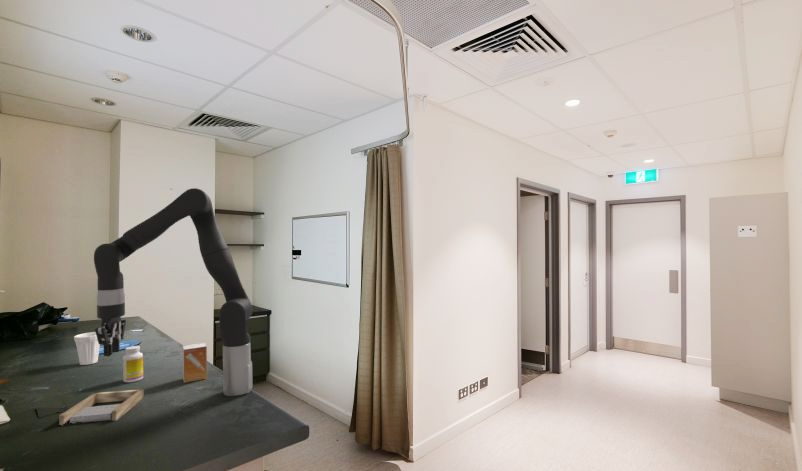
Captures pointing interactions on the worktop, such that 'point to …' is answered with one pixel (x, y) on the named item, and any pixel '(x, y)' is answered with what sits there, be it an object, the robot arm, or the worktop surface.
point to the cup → (87, 348)
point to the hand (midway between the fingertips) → (111, 353)
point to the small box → (194, 362)
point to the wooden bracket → (127, 396)
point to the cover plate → (93, 413)
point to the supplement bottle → (132, 364)
